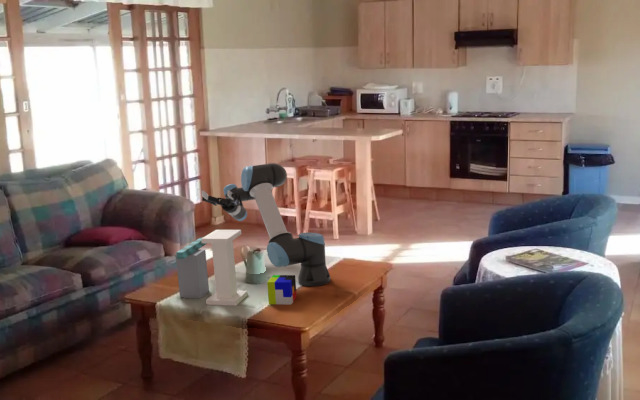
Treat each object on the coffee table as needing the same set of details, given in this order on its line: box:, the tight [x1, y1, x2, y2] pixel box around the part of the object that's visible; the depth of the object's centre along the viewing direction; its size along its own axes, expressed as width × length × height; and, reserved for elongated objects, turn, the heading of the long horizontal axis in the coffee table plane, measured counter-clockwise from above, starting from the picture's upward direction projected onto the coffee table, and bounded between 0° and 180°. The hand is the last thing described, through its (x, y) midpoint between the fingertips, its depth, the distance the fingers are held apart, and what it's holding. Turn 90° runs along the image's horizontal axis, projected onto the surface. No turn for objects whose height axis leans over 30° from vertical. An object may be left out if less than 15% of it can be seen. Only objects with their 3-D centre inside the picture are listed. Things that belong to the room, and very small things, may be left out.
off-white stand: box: [201, 229, 249, 306], centre depth 306 cm, size 16×14×30 cm
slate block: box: [175, 248, 210, 299], centre depth 317 cm, size 10×10×20 cm
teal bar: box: [175, 236, 208, 259], centre depth 317 cm, size 26×3×3 cm, turn 165°
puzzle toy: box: [266, 274, 297, 305], centre depth 303 cm, size 10×10×10 cm
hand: (215, 192), depth 339 cm, fingers open, 13 cm apart
